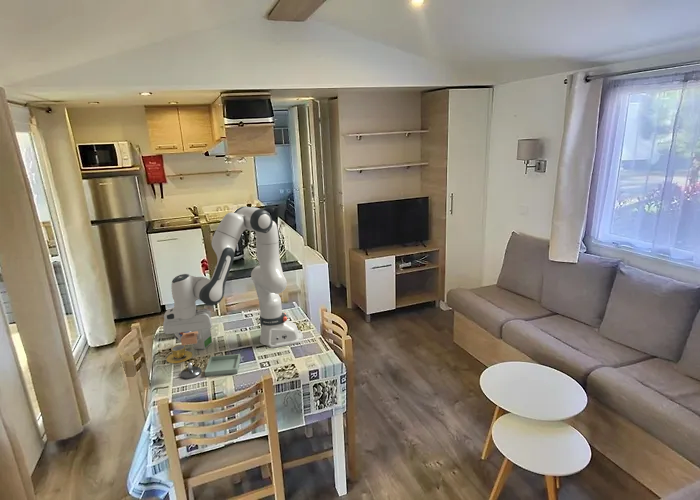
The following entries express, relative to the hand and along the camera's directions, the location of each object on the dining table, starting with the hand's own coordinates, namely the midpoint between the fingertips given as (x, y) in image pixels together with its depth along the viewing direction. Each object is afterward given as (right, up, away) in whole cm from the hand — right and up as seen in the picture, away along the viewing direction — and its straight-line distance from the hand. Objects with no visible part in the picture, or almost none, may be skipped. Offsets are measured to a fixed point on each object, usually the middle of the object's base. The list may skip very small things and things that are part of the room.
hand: (190, 339), depth 191 cm
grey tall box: (-5, -9, +30) cm, 31 cm away
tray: (+13, -15, +8) cm, 21 cm away
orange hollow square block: (0, -1, 0) cm, 1 cm away
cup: (-12, -13, +19) cm, 26 cm away
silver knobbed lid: (-1, -16, +4) cm, 17 cm away
